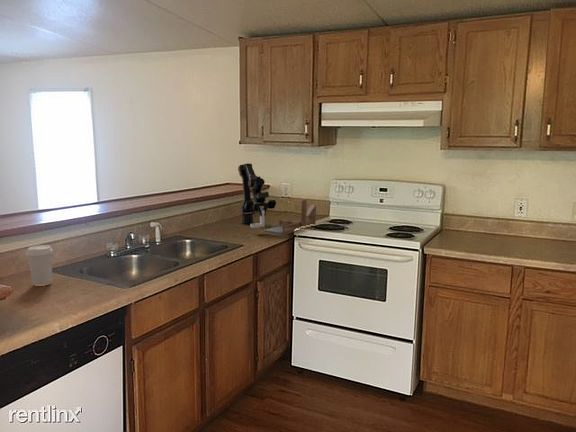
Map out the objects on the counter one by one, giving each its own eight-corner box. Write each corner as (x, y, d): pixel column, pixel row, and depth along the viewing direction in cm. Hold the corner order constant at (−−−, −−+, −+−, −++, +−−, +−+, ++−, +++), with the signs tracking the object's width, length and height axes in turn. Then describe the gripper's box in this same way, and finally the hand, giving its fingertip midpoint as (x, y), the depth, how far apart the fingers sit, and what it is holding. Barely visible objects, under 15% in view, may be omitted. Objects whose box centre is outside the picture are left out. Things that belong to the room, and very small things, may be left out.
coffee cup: (23, 286, 188) (19, 249, 186) (43, 279, 197) (40, 244, 194) (41, 289, 185) (38, 251, 182) (61, 282, 193) (58, 245, 191)
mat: (263, 231, 295) (263, 230, 295) (280, 226, 310) (280, 225, 310) (284, 234, 286) (284, 233, 286) (301, 229, 301) (301, 228, 301)
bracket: (250, 226, 288) (250, 210, 287) (262, 225, 291) (262, 209, 289) (252, 227, 285) (251, 211, 283) (264, 226, 287) (264, 210, 286)
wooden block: (315, 226, 311) (315, 199, 308) (303, 228, 304) (303, 200, 301) (311, 225, 314) (311, 198, 311) (299, 227, 307) (299, 199, 304)
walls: (263, 230, 295) (263, 223, 295) (280, 225, 310) (280, 219, 309) (284, 233, 286) (284, 226, 286) (301, 228, 301) (301, 222, 300)
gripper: (245, 187, 284) (250, 208, 276) (275, 186, 291) (281, 207, 282) (242, 199, 293) (247, 220, 285) (271, 197, 299) (277, 218, 291)
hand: (263, 216), depth 285 cm, fingers closed on bracket, 2 cm apart
